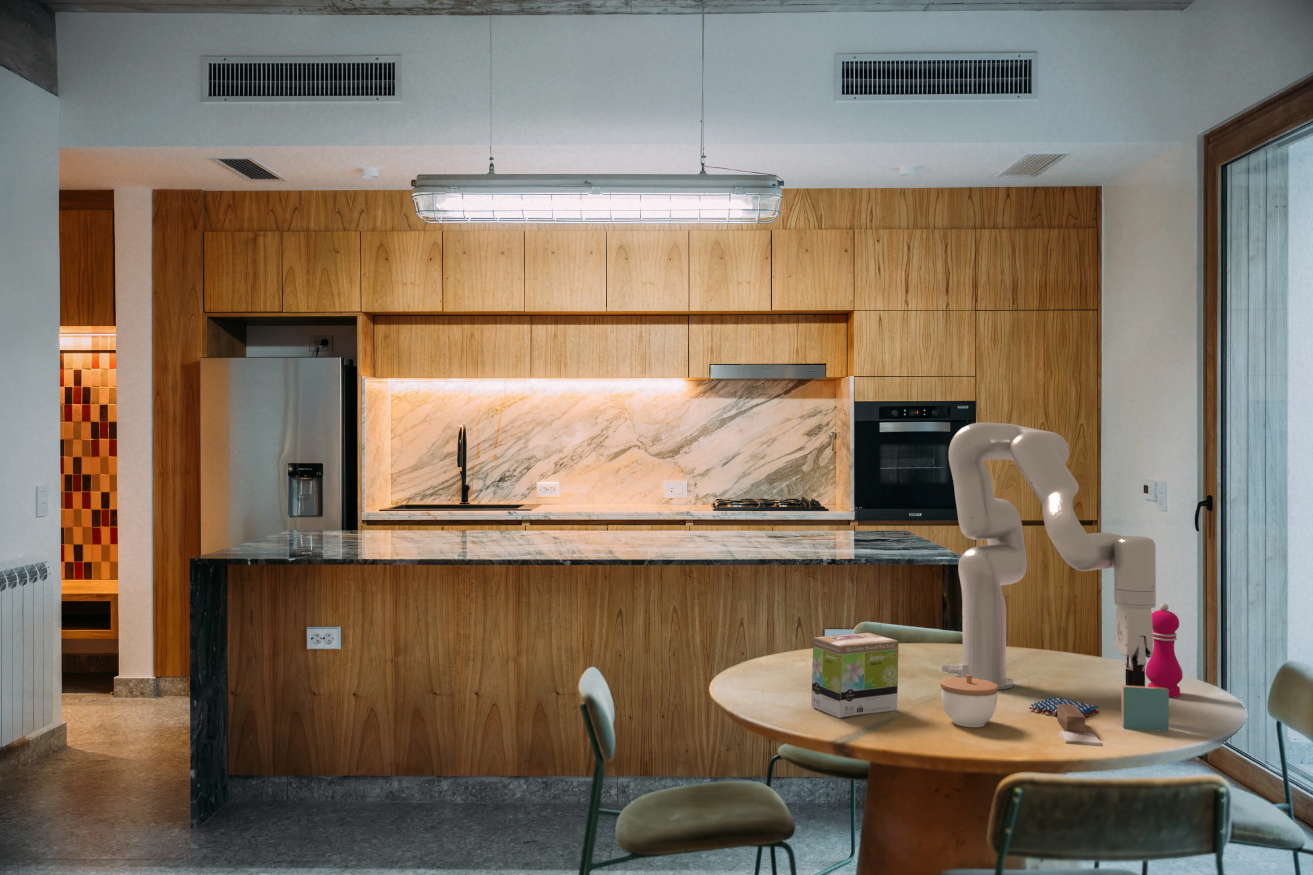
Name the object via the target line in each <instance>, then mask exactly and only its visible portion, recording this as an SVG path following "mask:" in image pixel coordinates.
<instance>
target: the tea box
mask: <svg viewBox="0 0 1313 875" xmlns="http://www.w3.org/2000/svg"><path fill="white" fill-rule="evenodd" d="M812 640H813V643H812V667H811V668H812V669H811V671H812V672H811V704H810V705H811V707H812V708H814V709H817V710H819V711H821V712H823V713H826V714H828V715H831V716H833V717H835V718H838V719H842V718H843V719H844V718H845V717H846V718H847V717H853V716H861V715H868V714H875V713H884V712H886V713H887V712H896V711H897V710H898V690H899V689H898V684H899V642H900V641H899V640H897V639H893V638H889V637H885V636H882V635H879V634H875V633H871V632H864V633H863V632H861V633H850V634H848V633H847V634H840V635H839V634H838V635H827V636H816V637H813V638H812Z"/></svg>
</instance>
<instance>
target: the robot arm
mask: <svg viewBox="0 0 1313 875" xmlns="http://www.w3.org/2000/svg"><path fill="white" fill-rule="evenodd" d="M1069 457H1070V447H1069V445H1068V442H1067V441H1066V439H1065V438H1064V437H1063V436H1062V435H1060V434H1058V433H1057V432H1053V431H1049V430H1044V429H1039V428H1038V429H1037V428H1033V427H1027V426H1024V425H1023V426H1022V425H1019V424H1013V423H1003V422H1002V423H1001V422H999V423H998V422H974V423H970V424H968V425H965V426H963V427H961V428H960V429H959V430H958V431H957V432H956V433H955V434H954V436H953V437H952V439H951V441H950V444H949V447H948V463H949V468H950V472H951V476H952V480H953V487H954V497H955V504H956V511H957V512H956V513H957V520H958V526H959V529H960V531H961V533H962V535H963V536H964V537H965V538H967V539H969V540H975V541H976V540H979V541H981V540H982V541H983V540H986V542H987V543H986V544H987V545H985V544H984V545H979V546H973V547H971V548H969V549H967V550H966V551H964V553H963V554H961V556H960V558H959V561H958V569H957V571H958V577H959V581H960V583H959V584H960V587H961V588H960V589H961V599H962V601H961V602H962V605H961V606H962V607H961V608H962V612H961V613H962V659H959V662H955V663H954V664H953V663H952V664H951V663H941V672H942V673H947V674H955V677H966V675H972V678H977V679H983V680H987V681H990V682H993V683H995V684H996V685H997V686H998V690H1008V689H1010V688H1012V687H1013V686H1014V680H1013V679H1012V678H1010V677H1009V676H1007V606H1006V600H1005V595H1004V594H1003V593H1004V592H1003V591H1002V590H1003V589H1002V586H1008V585H1012V584H1016V583H1019V582H1020V581H1021V580H1023V578H1024V577H1025V575H1026V572H1027V569H1028V568H1027V566H1028V558H1027V551H1026V544H1025V538H1024V530H1023V523H1022V518H1021V515H1020V513H1019V511H1018V509H1017V507H1016V506H1015V505H1013V503H1012V502H1010V501H1009V500H1006V499H1004V498H997V497H995V496H994V495H995V494H994V489H993V481H992V476H991V474H990V472H989V470H988V469H987V467H986V466H985V461H986V460H1006V461H1013V462H1014V464H1015V465H1016V466H1017V468H1018V469H1019V471H1020V473H1021V474H1022V476H1023V477H1024V479H1025V481H1026V483H1027V484H1028V485H1029V486H1030V488H1031V489H1032V491H1033V492H1034V494H1035V495H1036V497H1037V499H1038V500H1039V502H1040V503H1041V505H1042V506H1041V507H1042V518H1043V522H1044V527H1045V532H1046V534H1047V536H1048V538H1049V540H1050V541H1051V543H1052V545H1053V546H1054V548H1055V549H1056V551H1057V552H1058V554H1059V555H1060V557H1061V558H1062V559H1063V561H1065V563H1066V564H1067V565H1068V566H1069V567H1071V568H1072V569H1074V570H1077V571H1081V572H1089V571H1096V570H1108V569H1113V602H1114V603H1113V604H1114V605H1115V606H1116V612H1115V629H1114V648H1115V649H1116V650H1117V651H1118V652H1119V653H1121V654H1122V655H1123V656H1124V661H1125V662H1124V663H1125V664H1124V665H1125V685H1128V686H1146V666H1147V659H1150V658H1151V656H1152V654H1153V649H1154V641H1153V627H1152V613H1153V612H1152V609H1154V608H1156V607H1157V588H1156V586H1157V584H1156V583H1157V581H1156V578H1157V577H1156V576H1157V574H1156V573H1157V570H1156V567H1157V566H1156V565H1157V564H1156V562H1157V561H1156V557H1157V556H1156V555H1157V554H1156V552H1157V551H1156V550H1157V549H1156V543H1155V541H1154V539H1152V538H1150V537H1147V536H1136V535H1135V536H1134V535H1119V534H1114V533H1110V532H1092V533H1090V532H1089V533H1087V531H1086V530H1085V527H1083V525H1082V523H1080V520H1079V519H1078V517H1077V515H1076V513H1075V510H1074V506H1073V500H1074V497H1075V496H1076V494H1077V493H1078V491H1079V488H1080V485H1079V483H1078V481H1077V480H1076V478H1075V477H1074V476H1073V474H1072V472H1071V471H1070V470H1069V469H1068V467H1067V465H1066V463H1067V462H1068V460H1069Z"/></svg>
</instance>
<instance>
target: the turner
mask: <svg viewBox="0 0 1313 875" xmlns="http://www.w3.org/2000/svg"><path fill="white" fill-rule="evenodd" d="M1056 719H1057V722H1058V724H1059V725H1060V727H1061V729H1062V731H1061V730H1059V731H1058V734H1059V735H1060V738H1062V740H1063V741H1064V743H1065V744H1072V745H1073V744H1074V745H1086V746H1088V745H1089V746H1099V747H1100V746H1102V742H1101V741H1100V740H1099V739H1098V737H1097V736H1096V735H1095V733H1094V732H1093V733H1092V732H1086V717H1084V715H1083V714H1082V713H1081V712H1080V711H1079V709H1078V708H1077V707H1076V706H1075V705H1071V704H1070V705H1068V704H1057V716H1056Z"/></svg>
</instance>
